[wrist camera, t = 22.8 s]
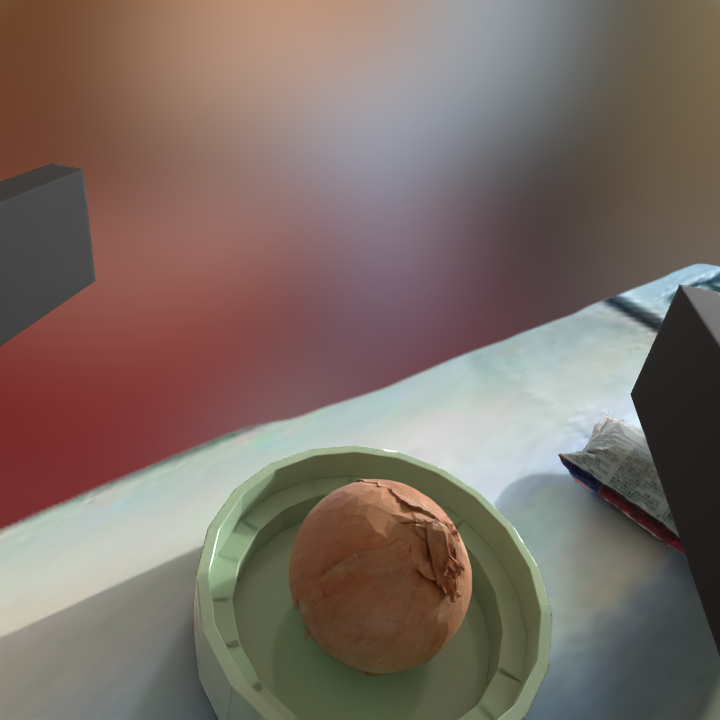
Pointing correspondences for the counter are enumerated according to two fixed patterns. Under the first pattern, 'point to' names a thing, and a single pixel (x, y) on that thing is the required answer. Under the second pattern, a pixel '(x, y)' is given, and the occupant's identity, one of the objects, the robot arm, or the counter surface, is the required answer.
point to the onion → (379, 576)
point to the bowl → (307, 659)
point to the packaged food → (625, 477)
